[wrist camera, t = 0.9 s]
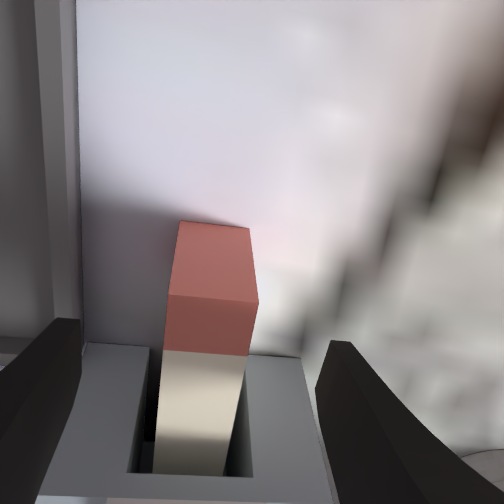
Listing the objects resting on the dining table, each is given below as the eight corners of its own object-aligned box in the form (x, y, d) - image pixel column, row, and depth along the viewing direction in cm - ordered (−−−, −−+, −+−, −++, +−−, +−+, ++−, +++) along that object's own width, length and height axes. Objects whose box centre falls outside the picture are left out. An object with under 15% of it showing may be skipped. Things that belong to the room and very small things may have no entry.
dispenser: (271, 460, 23) (290, 629, 17) (90, 452, 22) (40, 631, 16) (300, 358, 20) (338, 524, 14) (87, 342, 19) (24, 516, 12)
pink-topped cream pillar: (215, 416, 21) (214, 511, 17) (161, 412, 21) (149, 509, 17) (249, 228, 16) (258, 302, 13) (180, 220, 16) (167, 294, 12)
